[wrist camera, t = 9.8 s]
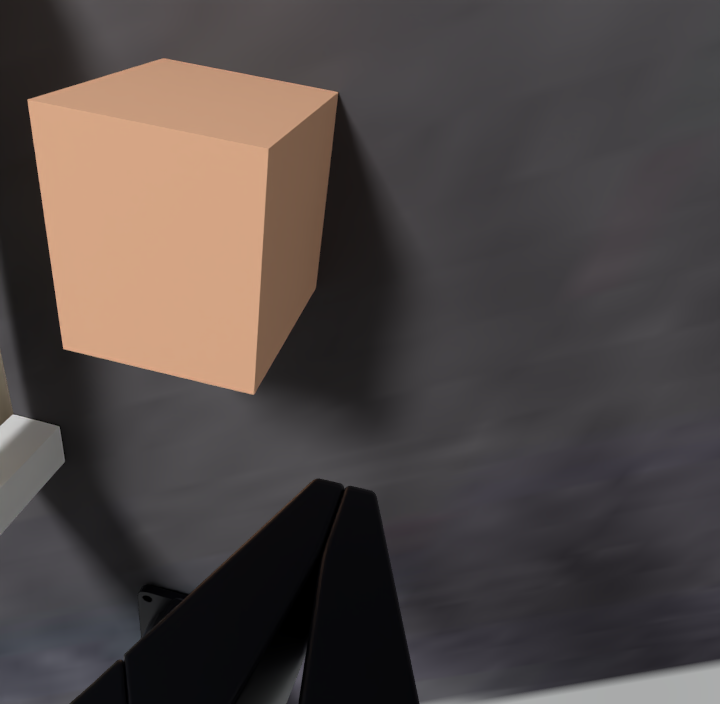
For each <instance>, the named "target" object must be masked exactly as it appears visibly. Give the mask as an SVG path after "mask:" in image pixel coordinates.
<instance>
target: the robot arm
mask: <svg viewBox="0 0 720 704" xmlns="http://www.w3.org/2000/svg"><path fill="white" fill-rule="evenodd" d="M138 606H139V618H140V630H141V639H140V640H139V641H138V642H137V643H136V644H135V645H134V646H133V647H132V648H131V649H130V650H128V651H127V652H126V653H125V654H124V662H123V660H117V661H116V662H115V663H114V664H113V665H112V666H111V667H110V668H109V669H107V670H106V671H105V672H104V673H103V674H102V675H101V676H100V677H99V678H98V679H97V680H96V681H95V682H93V683H92V684H91V685H90V686H89V687H88V688H87V689H86V690H84V691H83V692H82V693H81V694H80V695H79V696H78V697H76V698H75V699H74V700H73V701H72V702H71V703H70V704H286V703H287V701H288V698H289V696H290V693H291V691H292V688H293V686H294V683H295V680H296V678H297V675H298V673H299V670H300V668H301V665H302V662H303V660H304V657H305V663H304V670H303V677H302V683H301V690H300V697H299V704H419V699H418V694H417V689H416V685H415V680H414V675H413V670H412V665H411V660H410V656H409V651H408V646H407V641H406V636H405V631H404V627H403V622H402V617H401V612H400V607H399V602H398V598H397V593H396V588H395V583H394V578H393V573H392V568H391V564H390V559H389V554H388V549H387V544H386V539H385V535H384V530H383V525H382V520H381V515H380V510H379V506H378V501H377V497H376V494H375V493H374V492H373V491H370V490H366V489H362V488H358V487H353V486H348V487H346V488H345V490H344V486H343V485H342V484H340V483H336V482H332V481H328V480H324V479H315V480H313V481H312V482H310V483H309V484H308V485H307V486H306V487H305V488H304V489H303V490H302V491H301V492H300V493H299V494H297V495H296V496H295V497H294V498H293V499H292V500H291V501H290V502H289V503H288V504H287V505H286V506H284V507H283V508H282V509H281V510H280V511H279V512H278V513H277V514H276V515H275V516H274V517H273V518H271V519H270V520H269V521H268V522H267V523H266V524H265V525H264V526H263V527H262V528H261V529H260V530H258V531H257V532H256V533H255V534H254V535H253V536H252V537H251V538H250V539H249V540H248V541H247V542H245V543H244V544H243V545H242V546H241V547H240V548H239V549H238V550H237V551H236V552H235V553H234V554H232V555H231V556H230V557H229V558H228V559H227V560H226V561H225V562H224V563H223V564H222V565H221V566H219V567H218V568H217V569H216V570H215V571H214V572H213V573H212V574H211V575H210V576H209V577H208V578H206V579H205V580H204V581H203V582H202V583H201V584H200V585H199V586H198V587H197V588H196V589H195V590H193V591H192V592H191V593H190V594H189V595H188V596H187V595H184V594H180V593H176V592H173V591H169V590H166V589H162V588H158V587H155V586H151V585H144V586H143V587H142V588H141V590H140V592H139V593H138ZM305 654H306V656H305Z"/></svg>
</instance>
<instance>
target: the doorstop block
mask: <svg viewBox="0 0 720 704" xmlns="http://www.w3.org/2000/svg"><path fill="white" fill-rule="evenodd" d="M337 101H338V92H335V91H330V90H324V89H319V88H314V87H309V86H304V85H299V84H293V83H288V82H283V81H278V80H273V79H268V78H263V77H257V76H252V75H247V74H242V73H237V72H232V71H226V70H221V69H216V68H211V67H206V66H201V65H196V64H190V63H185V62H180V61H175V60H170V59H165V58H163V59H159V60H156V61H153V62H150V63H146V64H143V65H140V66H136V67H133V68H130V69H127V70H123V71H120V72H117V73H113V74H110V75H107V76H103V77H100V78H97V79H94V80H90V81H87V82H84V83H80V84H77V85H74V86H70V87H67V88H64V89H61V90H57V91H54V92H51V93H47V94H44V95H41V96H38V97H34V98H31V99H28V107H29V114H30V121H31V128H32V135H33V142H34V149H35V156H36V163H37V170H38V177H39V184H40V191H41V198H42V204H43V211H44V218H45V225H46V232H47V239H48V246H49V253H50V260H51V267H52V274H53V281H54V288H55V295H56V302H57V309H58V316H59V323H60V329H61V336H62V343H63V349H65V350H69V351H73V352H78V353H82V354H86V355H90V356H94V357H98V358H103V359H107V360H111V361H115V362H119V363H123V364H127V365H132V366H136V367H140V368H144V369H148V370H152V371H157V372H161V373H165V374H169V375H173V376H177V377H181V378H186V379H190V380H194V381H198V382H202V383H206V384H211V385H215V386H219V387H223V388H227V389H231V390H235V391H240V392H244V393H248V394H252V395H254V394H255V392H256V390H257V389H258V387H259V385H260V384H261V382H262V380H263V378H264V377H265V375H266V373H267V372H268V370H269V368H270V366H271V365H272V363H273V361H274V359H275V358H276V356H277V354H278V353H279V351H280V349H281V347H282V346H283V344H284V342H285V341H286V339H287V337H288V335H289V334H290V332H291V330H292V328H293V327H294V325H295V323H296V322H297V320H298V318H299V316H300V315H301V313H302V311H303V310H304V308H305V306H306V304H307V303H308V301H309V299H310V297H311V296H312V294H313V292H314V291H315V289H316V283H317V275H318V266H319V257H320V248H321V240H322V231H323V222H324V214H325V205H326V196H327V188H328V179H329V170H330V161H331V153H332V144H333V135H334V127H335V118H336V109H337Z"/></svg>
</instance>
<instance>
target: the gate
mask: <svg viewBox="0 0 720 704" xmlns="http://www.w3.org/2000/svg"><path fill="white" fill-rule="evenodd" d="M12 415H13V410H12V405H11V400H10V395H9V390H8V385H7V381H6V376H5V371H4V366H3V361H2V356H1V351H0V426H1V425H2V424H3V423H4V422H5V421H6V420H7V419H8V418H9V417H10V416H12Z"/></svg>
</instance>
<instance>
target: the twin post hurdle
mask: <svg viewBox="0 0 720 704" xmlns="http://www.w3.org/2000/svg"><path fill="white" fill-rule="evenodd" d="M64 462H65V458H64V451H63V445H62V438H61V432H60V426H57V425H53V424H49V423H45V422H41V421H37V420H33V419H29V418H26V417H22V416H18V415H14V414H13V415H12V416H10V417H9V418H8V419H7V420H6V421H5V422H4V423H3V424H2V425H1V426H0V535H1V534H2V533H3V532H4V530H5V529H6V528H7V527H8V526H9V525H10V524H11V523H12V521H13V520H14V519H15V518H16V517H17V516H18V515H19V513H20V512H21V511H22V510H23V509H24V508H25V507H26V505H27V504H28V503H29V502H30V501H31V500H32V499H33V498H34V496H35V495H36V494H37V493H38V492H39V491H40V490H41V488H42V487H43V486H44V485H45V484H46V483H47V482H48V480H49V479H50V478H51V477H52V476H53V475H54V474H55V472H56V471H57V470H58V469H59V468H60V467H61V466H62V465H63V463H64Z"/></svg>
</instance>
